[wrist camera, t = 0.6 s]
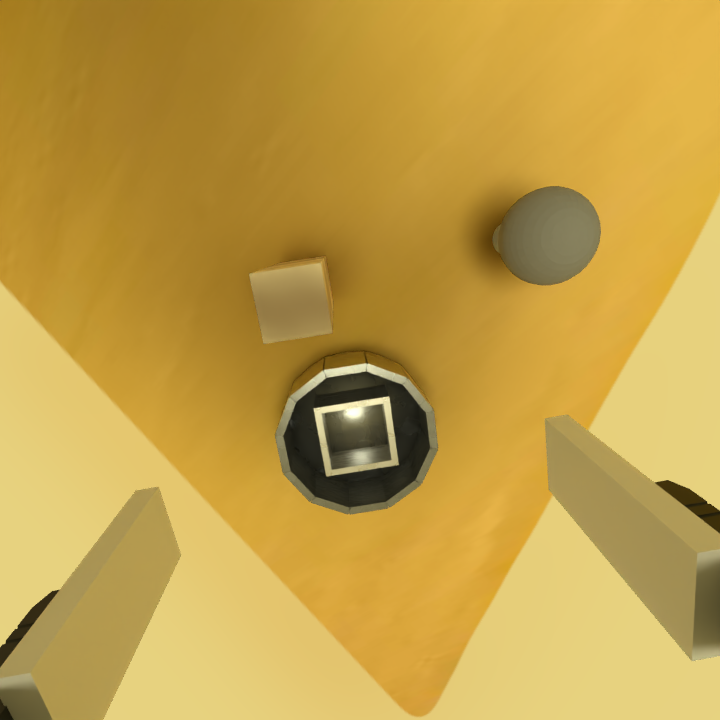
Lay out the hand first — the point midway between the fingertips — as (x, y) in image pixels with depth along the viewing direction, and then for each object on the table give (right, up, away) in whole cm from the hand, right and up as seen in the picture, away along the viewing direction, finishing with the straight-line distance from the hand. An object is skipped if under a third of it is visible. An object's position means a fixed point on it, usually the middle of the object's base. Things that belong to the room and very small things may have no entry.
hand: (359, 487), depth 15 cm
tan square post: (-4, +10, +20) cm, 23 cm away
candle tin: (0, -1, +23) cm, 23 cm away
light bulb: (+11, +14, +20) cm, 27 cm away
